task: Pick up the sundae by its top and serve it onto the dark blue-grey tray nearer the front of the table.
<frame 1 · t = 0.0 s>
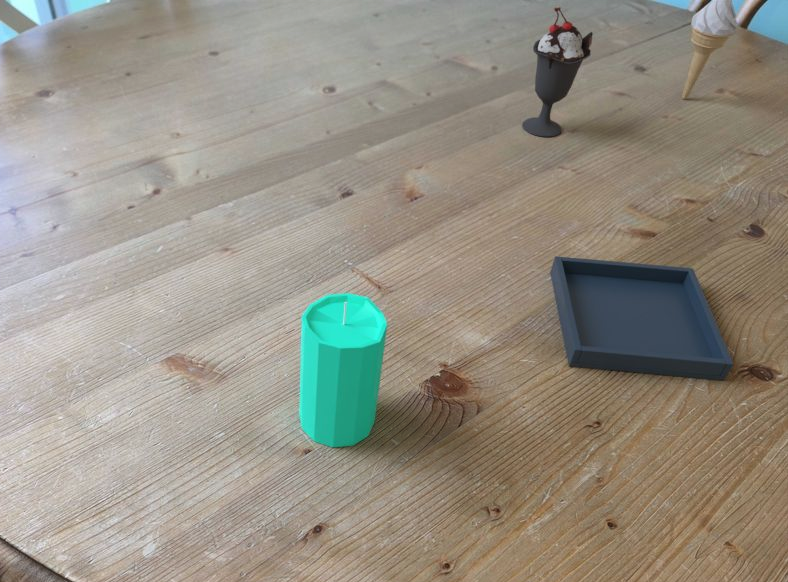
tray: (630, 322, 69), on the table
sundae: (541, 129, 96), on the table
ice cream cone: (683, 100, 104), on the table
candle: (336, 419, 59), on the table
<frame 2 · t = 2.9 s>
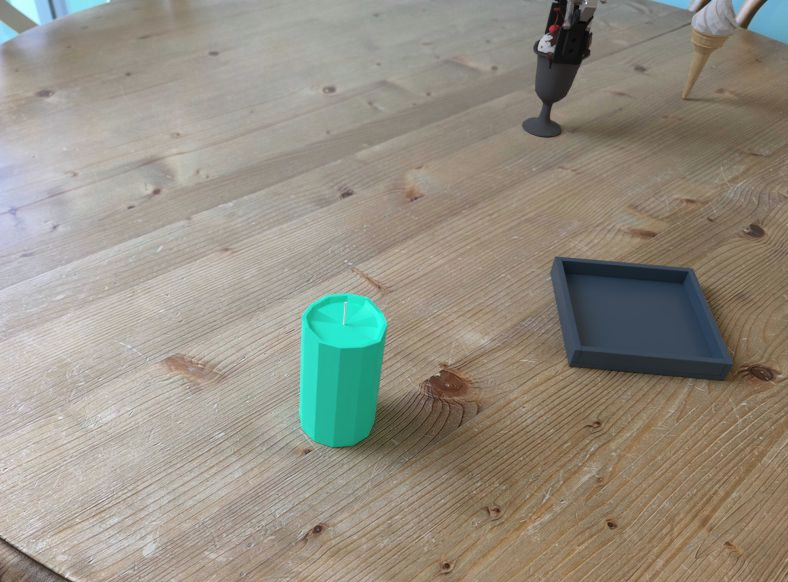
hand: (561, 48, 89), 10 cm above the table, tool pointing down, fingers closed on sundae, 6 cm apart
sundae: (540, 129, 96), on the table, touching gripper
everything else where it was.
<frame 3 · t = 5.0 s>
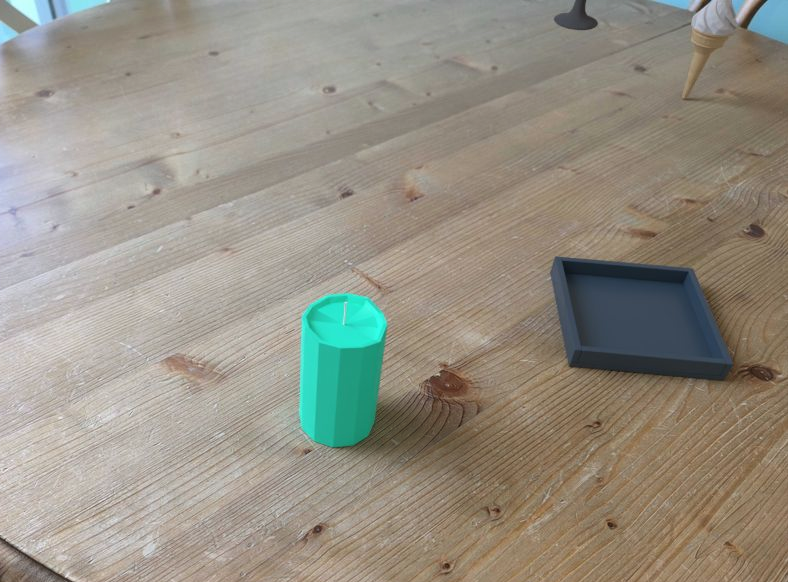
sundae: (574, 24, 86), point 13 cm above the table, touching gripper
everything else where it was.
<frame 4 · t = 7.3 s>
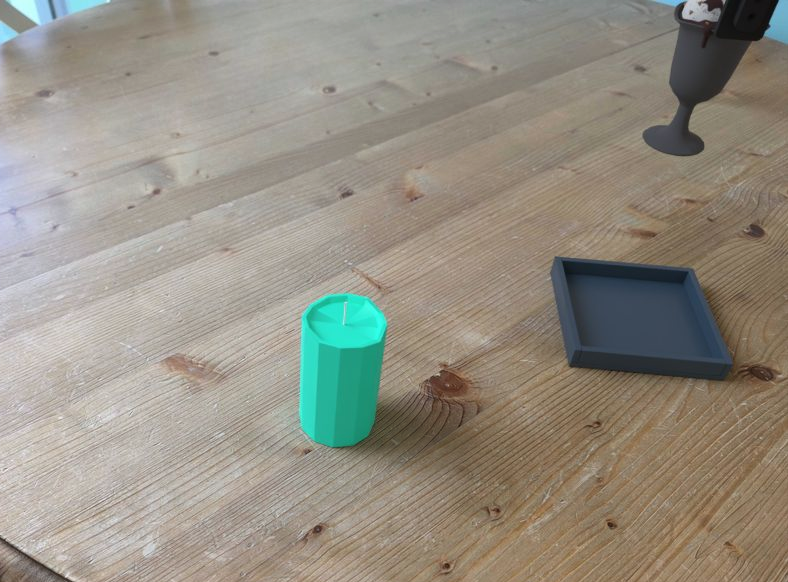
hand: (722, 16, 55), 26 cm above the table, tool pointing down, fingers closed on sundae, 6 cm apart
sundae: (671, 143, 62), point 15 cm above the table, touching gripper
everything else where it was.
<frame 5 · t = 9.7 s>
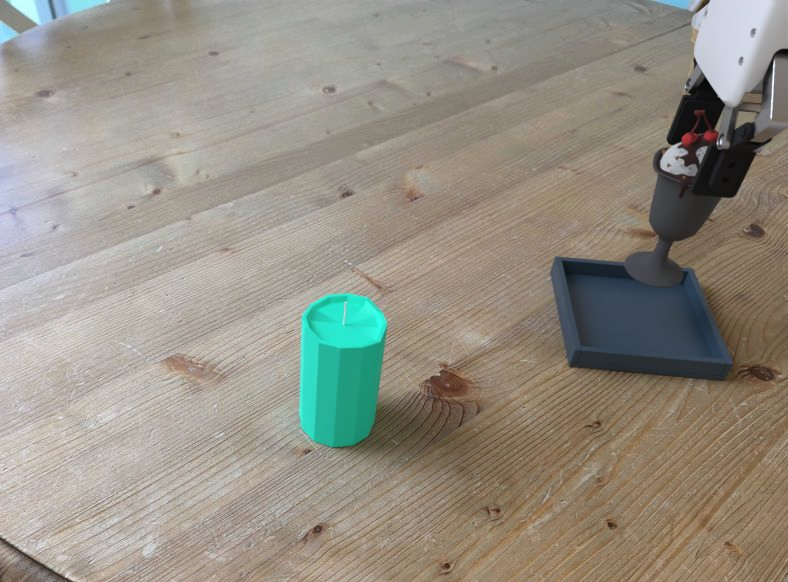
hand: (698, 166, 58), 16 cm above the table, tool pointing down, fingers closed on sundae, 6 cm apart
sundae: (652, 272, 65), point 6 cm above the table, touching gripper
everything else where it was.
when the fingers open (11 cm above the table, at t = 11.6 s): sundae stays where it is, resting on tray.
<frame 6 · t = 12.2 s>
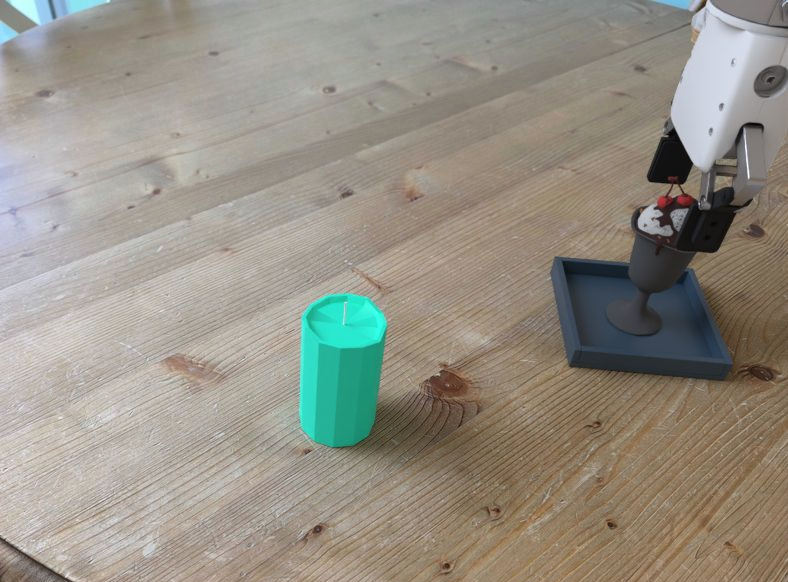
hand: (678, 213, 61), 12 cm above the table, tool pointing down, fingers open, 9 cm apart
sundae: (632, 319, 69), resting on tray
everything else where it was.
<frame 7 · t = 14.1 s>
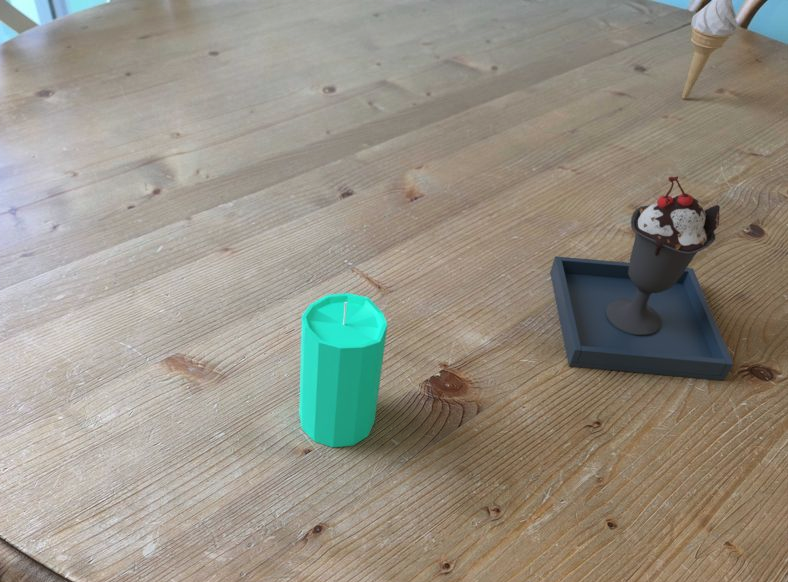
nothing on the table moved.
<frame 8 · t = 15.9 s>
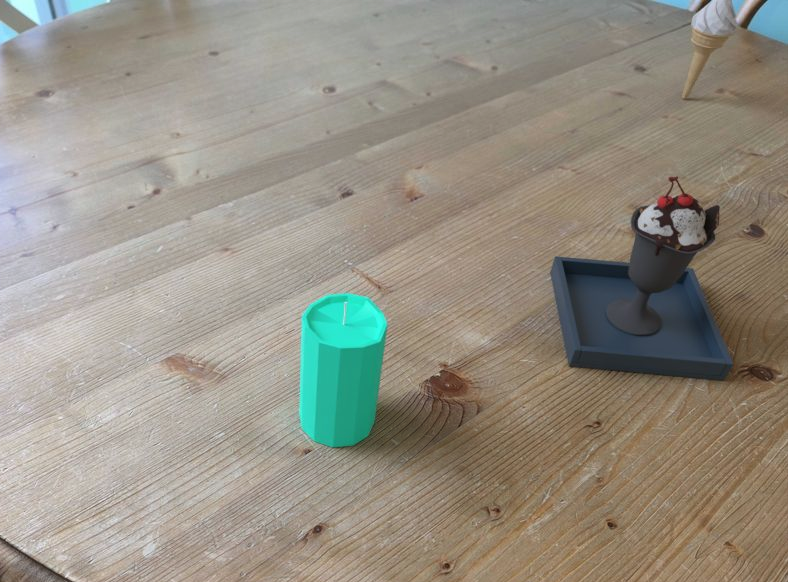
nothing on the table moved.
at the end: sundae inside the target area in the tray (0.1 cm from its centre), point 0.3 cm above the tray's base; sundae tilted 0°; the gripper is holding nothing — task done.
